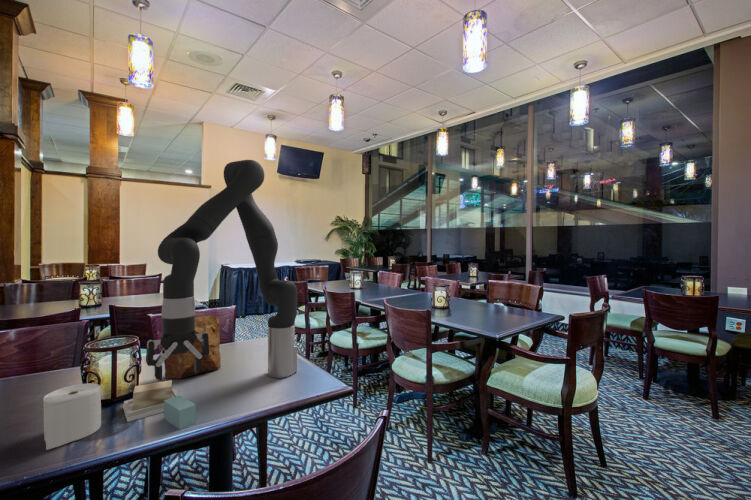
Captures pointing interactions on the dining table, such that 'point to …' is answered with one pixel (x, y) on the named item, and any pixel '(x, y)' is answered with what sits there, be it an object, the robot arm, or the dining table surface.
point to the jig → (143, 409)
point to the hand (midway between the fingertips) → (178, 375)
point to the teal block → (179, 412)
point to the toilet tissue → (71, 414)
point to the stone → (184, 362)
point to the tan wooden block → (151, 394)
